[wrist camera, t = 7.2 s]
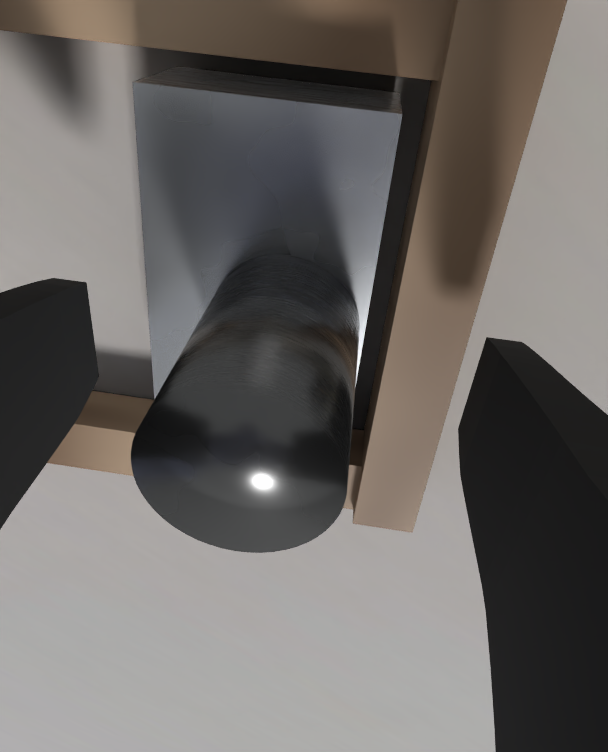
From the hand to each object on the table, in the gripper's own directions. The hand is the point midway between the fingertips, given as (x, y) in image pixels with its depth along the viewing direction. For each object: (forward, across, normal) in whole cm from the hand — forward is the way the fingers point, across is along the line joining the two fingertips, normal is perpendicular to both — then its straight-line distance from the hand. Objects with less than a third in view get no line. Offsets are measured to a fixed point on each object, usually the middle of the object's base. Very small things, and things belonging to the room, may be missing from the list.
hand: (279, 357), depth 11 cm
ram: (+4, +1, 0) cm, 4 cm away
